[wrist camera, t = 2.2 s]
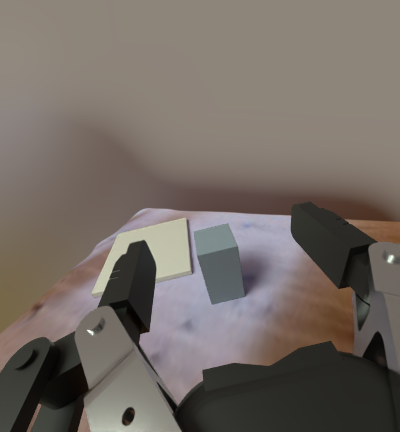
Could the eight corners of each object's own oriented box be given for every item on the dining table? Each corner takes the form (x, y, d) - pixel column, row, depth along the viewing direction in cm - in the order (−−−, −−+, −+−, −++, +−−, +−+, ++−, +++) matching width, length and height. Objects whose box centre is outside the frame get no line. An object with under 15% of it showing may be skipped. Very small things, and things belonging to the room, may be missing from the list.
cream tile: (186, 220, 48) (185, 217, 48) (192, 274, 33) (190, 270, 32) (120, 236, 49) (118, 233, 48) (94, 297, 33) (91, 294, 33)
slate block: (235, 271, 32) (227, 223, 26) (244, 296, 27) (237, 246, 22) (206, 277, 32) (193, 231, 27) (211, 304, 27) (197, 255, 22)
